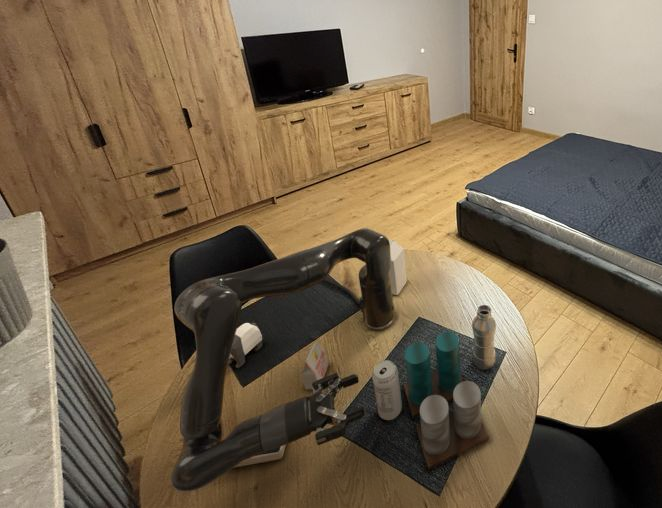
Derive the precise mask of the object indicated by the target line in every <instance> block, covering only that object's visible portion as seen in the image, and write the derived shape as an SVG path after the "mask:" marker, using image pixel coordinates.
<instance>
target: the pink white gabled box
mask: <svg viewBox="0 0 662 508" xmlns="http://www.w3.org/2000/svg"><path fill="white" fill-rule="evenodd" d="M328 368H329V364H328V359H327V355H326V351H325V350H324V349H323V348H322V347H321V345H320V344H319V343H318V341H317V340H316V341H315V342H314V343H313V345H312V347H311V349H310V351H309V354H308V356H307V357H306V360H305V362H304V366H303V369H302V371H301V374H300V375H301V379H302V382H303V386H304V389H305V390H313V388H312V383H313V382H315V381H317V380H319V379H322V378H324V377H326V373H327V371H328Z"/></svg>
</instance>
